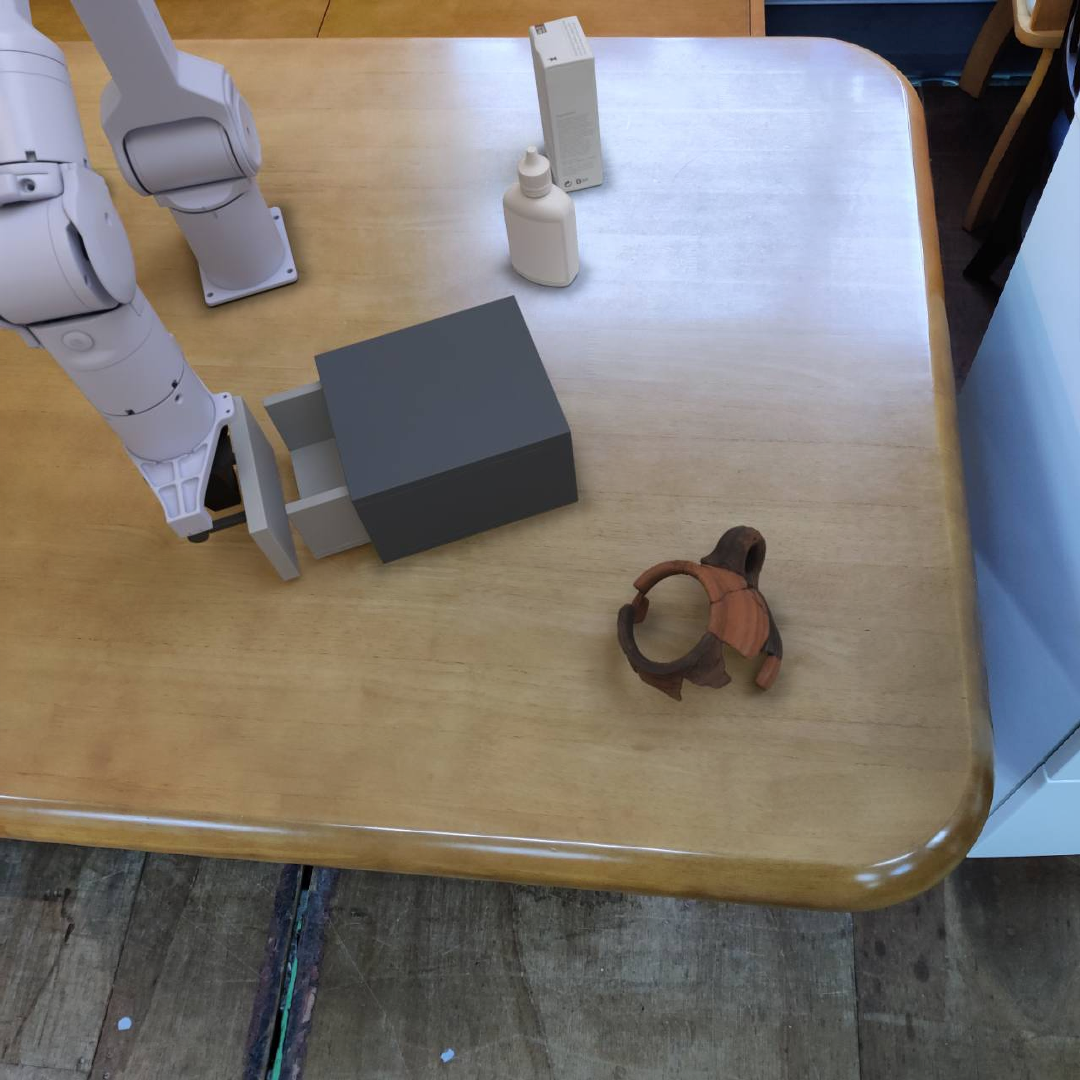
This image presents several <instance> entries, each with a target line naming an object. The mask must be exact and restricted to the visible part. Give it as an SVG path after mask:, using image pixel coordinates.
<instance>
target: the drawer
mask: <svg viewBox="0 0 1080 1080" xmlns="http://www.w3.org/2000/svg"><path fill="white" fill-rule="evenodd" d="M232 397H233V399H234V400H235V403H236V409H237V414H238V416H237V419H236V420H235V421H234V422H232V423H230V424H228V428H229V433H230V439H231V445H232V450H233V466H235V465H236V470H237V477H238V482H239V487H240V493H241V498H242V503H243V506H244V510H242V511H240V512H236V513H233V514H230V515H226V516H223V517H220V518H217V519H214V520H213V519H212V525H213V528H212V529H209V530H206V531H203V532H201V533H198V534H194V535H190V536H187V537H186V539H187V541H188V542H189V543H192V544H202V543H205V542H206V541H208V540H209V539H210V534H211V535H212V534H214V533H218V532H221V531H224V530H226V529H230V528H233V527H236V526H239V525H242V524H245V523H246V524H247V529H248V533H249V535H250V537H251V538H252V539H253V541H254V542H255V543H256V545H257V546H258V547H259V549H260V550H261V551H262V553H263V554H264V555H265V557H266V558H267V560H268V561H269V563H271V565H272V567H273V568H274V569H275V571H276V572H277V573H278V575H279V576H280V577H281V579H282V580H283V581H284V582H287V581H289V580H292V579H295V578H299V577H300V576H301V571H300V567H299V562H298V557H297V552H296V547H295V543H294V539H293V533H292V528H291V524H290V522H291V523H292V525H293V527H294V528H295V530H296V531H297V532H298V534H299V536H300V537H301V539H302V541H303V542H304V544H305V545H306V547H307V548H308V550H309V551H310V553H311V554H312V556H313V557H314V559H315V560H318V559H322V558H324V557H327V556H328V557H329V556H331V555H334V554H338V553H340V552H344V551H346V550H349V549H352V548H356V547H359V546H363V545H365V544H369V543H372V541H371V539H370V537H369V535H368V533H367V531H366V529H365V527H364V525H363V523H362V521H361V520H360V518H359V516H358V514H357V512H356V510H355V508H354V506H353V504H352V502H351V499H350V495H349V491H348V488H347V484H346V480H345V476H344V472H343V468H342V464H341V460H340V456H339V452H338V448H337V445H336V441H335V437H334V433H333V429H332V425H331V421H330V417H329V413H328V409H327V406H326V402H325V398H324V394H323V390H322V386H321V382H320V380H317V381H313V382H310V383H307V384H304V385H299V386H298V387H294V388H291V389H288V390H284V391H281V392H278V393H275V394H271V395H268V396H265V397H262V398H261V400H262V406H263V408H264V410H265V412H266V413H267V415H268V417H269V418H270V420H271V422H272V423H273V425H274V427H275V429H276V431H277V432H278V433H279V436H280V438H281V439H282V441H283V443H284V444H285V446H286V448H287V450H288V451H289V456H290V460H291V464H292V469H293V473H294V478H295V482H296V486H297V491H298V495H299V499H298V500H295V501H292V502H288V503H286V501H285V496H284V495H285V494H284V490H283V488H282V482H281V481H282V480H281V477H280V472H279V468H278V464H277V459H276V454H275V450H274V448H273V446H272V444H271V442H270V441H269V439H268V438H267V436H266V434H265V433H264V431H263V429H262V428H261V426H260V424H259V422H258V420H256V417H255V416H254V414H253V413H252V411H251V409H250V408H249V406H248V404H247V403H246V401H245V399H244V397H243V396H242V394H238V395H234V396H232ZM204 507H205V506H204ZM205 508H206V507H205Z"/></svg>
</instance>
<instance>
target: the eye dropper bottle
mask: <svg viewBox="0 0 1080 1080" xmlns="http://www.w3.org/2000/svg"><path fill="white" fill-rule="evenodd" d="M517 175H518V180H517V181H514V182H513V183H511V185H509V186H508V188H507V189H506V191H505V192H504V194H503V197H502V209H503V217H504V222H505V230H506V235H507V236H506V237H507V243H508V248H509V254H510V255H509V256H510V260H511V265H512V268H513V269H514V271H515V272H516V273H517V274H518V275H520V276H521V277H523V278H524V279H526V280H528V281H530V282H533V283H535V284H538V285H542V286H546V287H568V286H570V284H571V283H572V282H573V281H574V280H575V278H576V276H577V275H578V274H579V271H580V268H581V267H580V255H579V241H578V231H577V230H578V229H577V218H576V207H575V203H574V201H573V199H572V197H570V195H569V194H568V193H567V192H564V191H563V190H562V189H560V188H559V187H557V185H556V184H554V183H553V180H552V170H551V167H550V163H549V160H548V157H547V156H544V155H541V154H539V152H538V149H537V147H536V146H535V145H531V146H528V147H527V148H526V155H525V156H524V157H523V158H522V159H520V160H519V162H518V163H517Z"/></svg>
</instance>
